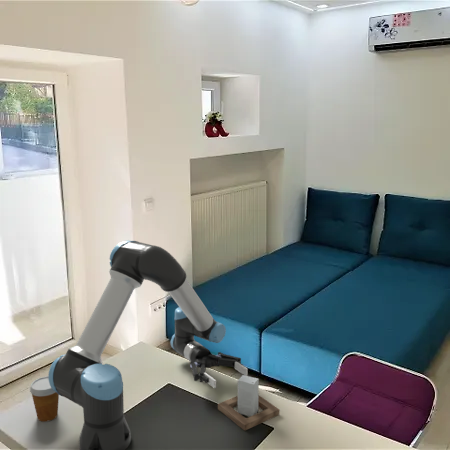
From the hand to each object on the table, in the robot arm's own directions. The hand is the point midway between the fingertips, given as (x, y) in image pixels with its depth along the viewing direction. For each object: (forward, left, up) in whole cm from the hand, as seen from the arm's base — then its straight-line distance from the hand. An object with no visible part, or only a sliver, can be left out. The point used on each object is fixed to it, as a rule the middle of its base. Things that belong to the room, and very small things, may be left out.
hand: (231, 378), depth 170 cm
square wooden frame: (0, -9, -8) cm, 12 cm away
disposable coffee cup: (-55, +28, -8) cm, 62 cm away
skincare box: (0, -9, -8) cm, 12 cm away
